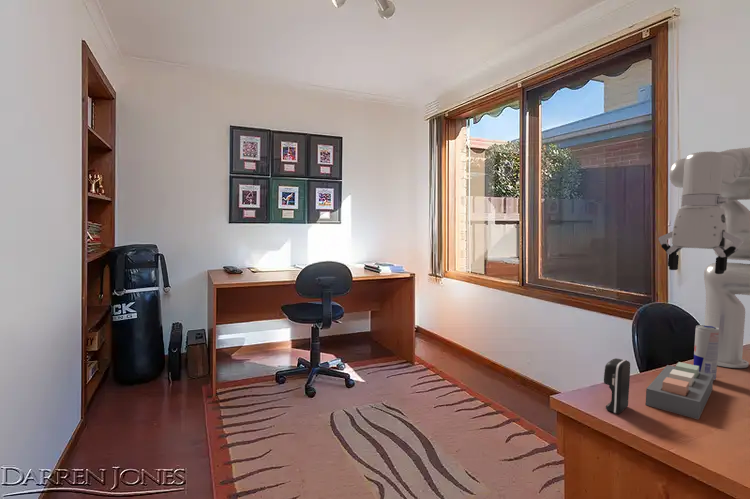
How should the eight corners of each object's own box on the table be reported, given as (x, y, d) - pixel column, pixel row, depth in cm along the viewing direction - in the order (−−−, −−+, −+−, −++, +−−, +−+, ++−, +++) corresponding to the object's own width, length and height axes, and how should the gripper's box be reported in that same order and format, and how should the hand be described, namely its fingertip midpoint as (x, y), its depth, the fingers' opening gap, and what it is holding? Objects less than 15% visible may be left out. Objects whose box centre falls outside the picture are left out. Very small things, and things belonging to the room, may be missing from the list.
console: (666, 378, 114) (667, 365, 114) (712, 389, 107) (713, 374, 107) (645, 404, 97) (646, 388, 97) (698, 419, 90) (699, 401, 90)
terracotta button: (665, 389, 99) (666, 377, 99) (688, 395, 96) (689, 382, 96) (661, 394, 96) (662, 381, 96) (685, 400, 93) (685, 387, 93)
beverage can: (707, 376, 117) (710, 324, 116) (720, 383, 112) (724, 329, 111) (688, 375, 117) (691, 323, 116) (700, 382, 112) (704, 328, 111)
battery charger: (611, 401, 99) (613, 355, 98) (628, 406, 96) (631, 359, 95) (600, 409, 94) (602, 361, 94) (618, 415, 92) (621, 365, 91)
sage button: (678, 373, 111) (678, 361, 110) (698, 377, 107) (699, 366, 107) (674, 377, 108) (675, 365, 107) (695, 382, 104) (696, 370, 104)
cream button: (672, 381, 105) (673, 369, 105) (693, 386, 102) (694, 373, 102) (668, 385, 102) (669, 373, 102) (690, 391, 99) (691, 378, 99)
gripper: (751, 202, 95) (746, 275, 96) (668, 205, 110) (664, 268, 111) (739, 200, 92) (733, 275, 92) (654, 203, 106) (650, 268, 107)
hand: (695, 271), depth 102 cm, fingers open, 9 cm apart
